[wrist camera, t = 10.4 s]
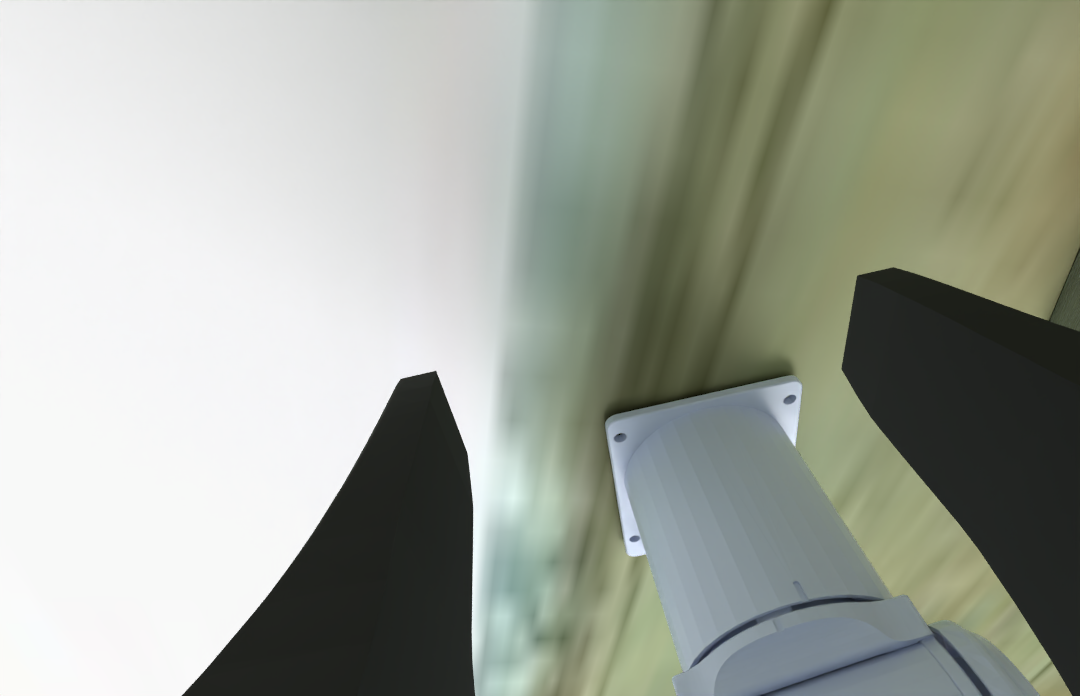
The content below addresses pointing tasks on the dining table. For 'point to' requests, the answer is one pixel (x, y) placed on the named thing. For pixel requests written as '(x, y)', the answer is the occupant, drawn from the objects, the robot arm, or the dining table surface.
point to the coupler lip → (1069, 300)
